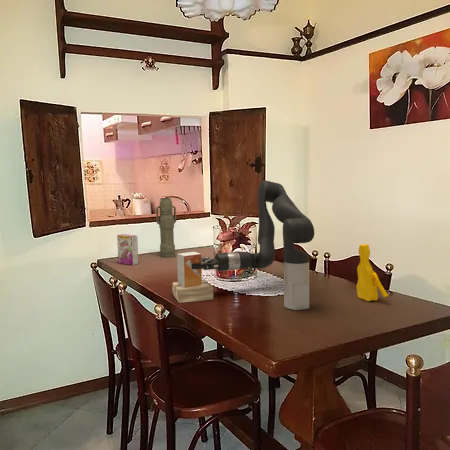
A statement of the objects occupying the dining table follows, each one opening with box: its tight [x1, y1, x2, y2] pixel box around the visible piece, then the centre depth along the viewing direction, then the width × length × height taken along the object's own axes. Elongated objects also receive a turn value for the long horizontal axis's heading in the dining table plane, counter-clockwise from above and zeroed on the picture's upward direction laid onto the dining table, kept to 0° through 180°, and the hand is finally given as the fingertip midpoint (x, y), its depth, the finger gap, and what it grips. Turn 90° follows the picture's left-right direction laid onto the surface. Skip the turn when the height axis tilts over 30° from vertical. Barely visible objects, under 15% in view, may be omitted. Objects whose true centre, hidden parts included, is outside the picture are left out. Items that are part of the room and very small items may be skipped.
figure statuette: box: [356, 243, 389, 302], centre depth 179 cm, size 18×8×22 cm, turn 23°
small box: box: [176, 251, 203, 287], centre depth 188 cm, size 8×6×13 cm
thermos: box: [155, 197, 177, 259], centre depth 275 cm, size 9×12×35 cm
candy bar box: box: [116, 233, 139, 266], centre depth 257 cm, size 11×5×16 cm, turn 58°
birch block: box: [171, 278, 214, 304], centre depth 189 cm, size 14×14×5 cm
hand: (189, 264), depth 187 cm, fingers open, 8 cm apart
